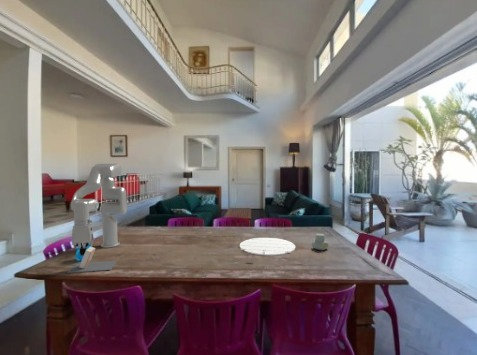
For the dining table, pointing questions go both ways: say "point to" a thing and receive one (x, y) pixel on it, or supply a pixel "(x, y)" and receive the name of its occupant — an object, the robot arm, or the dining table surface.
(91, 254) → the white rectangular block
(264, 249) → the lazy susan
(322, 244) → the air freshener
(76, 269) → the mat
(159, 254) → the dining table surface
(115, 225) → the robot arm
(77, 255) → the mug
